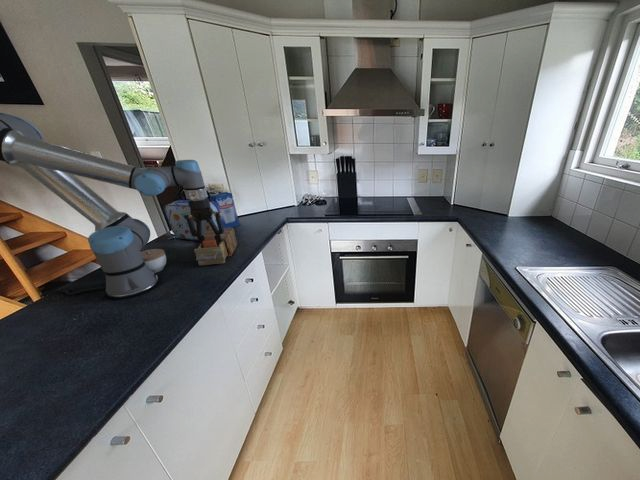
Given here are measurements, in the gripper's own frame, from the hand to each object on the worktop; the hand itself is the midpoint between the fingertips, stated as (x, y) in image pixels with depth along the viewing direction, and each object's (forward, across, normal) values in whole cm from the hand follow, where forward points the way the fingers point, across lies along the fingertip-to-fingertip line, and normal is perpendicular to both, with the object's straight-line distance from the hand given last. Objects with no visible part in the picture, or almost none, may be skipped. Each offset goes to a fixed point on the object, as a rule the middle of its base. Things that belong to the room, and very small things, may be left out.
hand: (212, 248), depth 124 cm
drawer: (+5, 0, -1) cm, 5 cm away
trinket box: (+6, -23, -3) cm, 24 cm away
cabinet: (+6, 0, +10) cm, 12 cm away
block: (0, 0, 0) cm, 0 cm away
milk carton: (+6, -5, +50) cm, 50 cm away
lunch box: (+6, -15, +32) cm, 36 cm away
